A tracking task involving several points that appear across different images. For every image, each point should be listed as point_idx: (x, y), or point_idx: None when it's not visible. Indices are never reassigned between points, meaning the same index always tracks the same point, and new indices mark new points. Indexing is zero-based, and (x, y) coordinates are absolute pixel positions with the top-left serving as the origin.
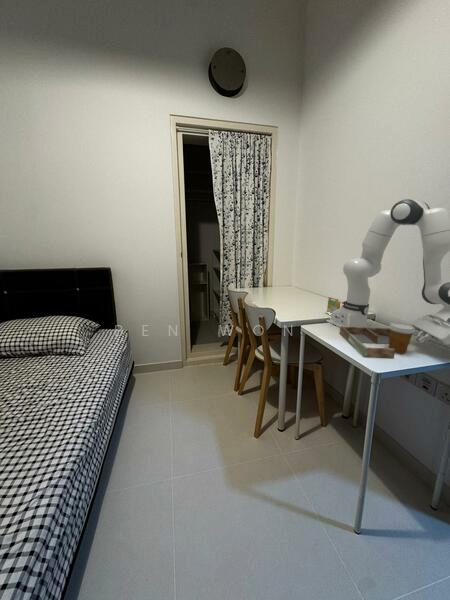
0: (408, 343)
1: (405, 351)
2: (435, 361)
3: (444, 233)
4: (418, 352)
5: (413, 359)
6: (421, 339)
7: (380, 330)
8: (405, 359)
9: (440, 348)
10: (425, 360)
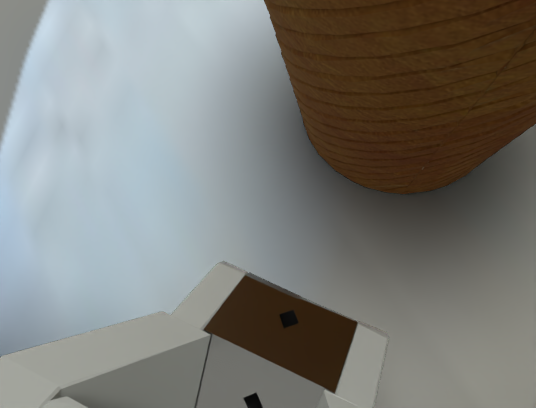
0: (276, 33)
1: (301, 114)
2: (4, 288)
3: None
4: None
5: (155, 81)
6: (189, 306)
7: None
8: (191, 2)
9: None
10: (78, 190)
